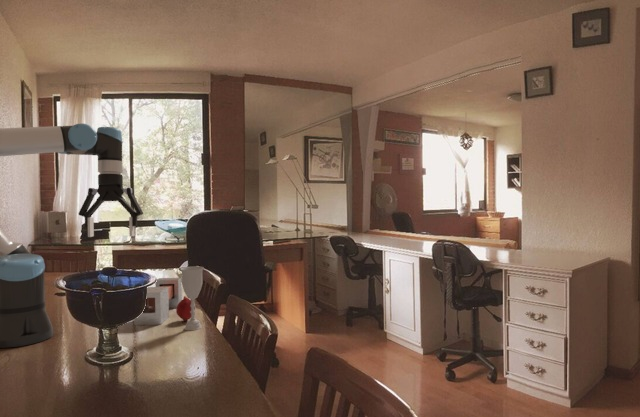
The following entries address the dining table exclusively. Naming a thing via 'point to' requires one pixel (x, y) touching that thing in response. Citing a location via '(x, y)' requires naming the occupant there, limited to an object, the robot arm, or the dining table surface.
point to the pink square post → (170, 290)
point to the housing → (155, 307)
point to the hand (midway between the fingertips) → (111, 236)
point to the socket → (177, 290)
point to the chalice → (192, 291)
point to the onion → (184, 309)
